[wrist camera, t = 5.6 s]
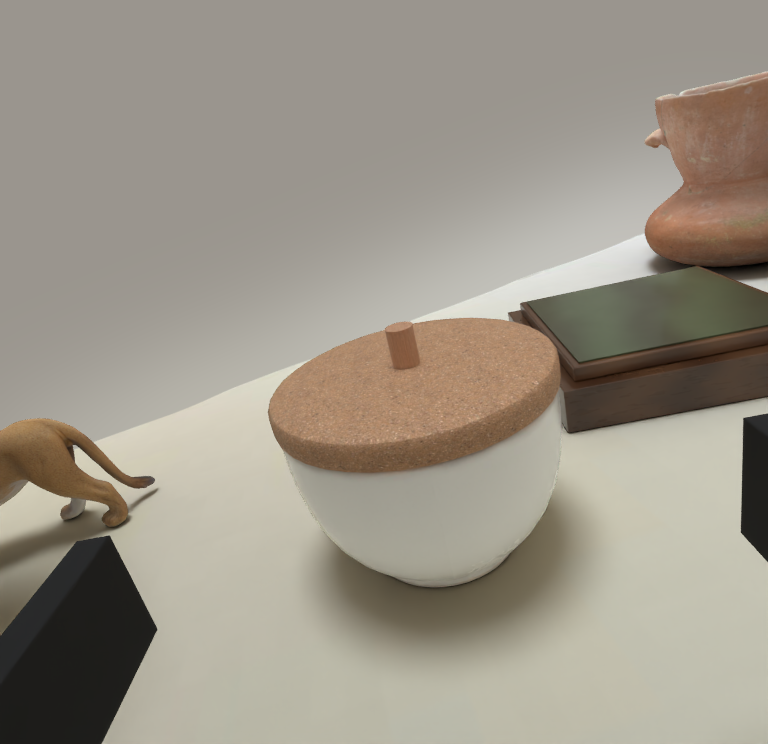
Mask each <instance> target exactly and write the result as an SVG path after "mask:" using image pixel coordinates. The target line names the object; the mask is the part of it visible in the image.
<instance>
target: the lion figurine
mask: <svg viewBox="0 0 768 744" xmlns="http://www.w3.org/2000/svg"><path fill="white" fill-rule="evenodd" d="M72 445H77V446H78V447H79V448H80V449H81V450H83V451H84V452H85V453H86V454H87V455H88V456H89V457H90V458H91V459H92V460H94V461H95V462H96V463H97V464H99V465H100V466H101V467H102V468H103V469H104V470H105V471H106V472H107V473H108V474H110V475H111V476H112V477H113V478H115V479H116V480H118V481H119V482H121V483H123V484H125V485H127V486H129V487H133V488H146V487H147V486H149V485H151V484H153V483H154V481H155V479H154V478H153V477H151V476H142V477H130V476H128V475H126V474H124V473H122V472H121V471H120V470H119V469H118V468H117V467H116V466H115V465H114V464H113V463H112V462H111V461H110V460H109V459H108V457H107V456H106V455H105V454H104V453H103V452H102V451H101V450H100V449H99V448H98V447H97V446H96V445H95V444H94V443H93V442H92V441H91V440H90V439H89V438H88V437H86V436H85V435H84V434H82V433H81V432H79V431H78V430H77V429H75V428H73V427H72V426H70V425H67V424H65V423H62V422H59V421H55V420H51V419H39V418H38V419H29V420H28V419H27V420H22V421H19V422H16V423H13V424H11V425H9V426H8V427H6V428H5V429H3V430H1V431H0V506H1V505H2V504H4V503H5V502H7V501H8V500H10V499H11V498H12V497H14V496H15V495H16V494H17V493H18V492H19V491H20V490H21V489H22V488H23V487H24V486H25V485H26V484H27V482H28V481H30V482H32V483H34V484H35V485H37V486H39V487H40V488H42V489H45V490H47V491H49V492H52V493H54V494H57V495H60V496H63V497H69V498H71V503H70V504H68V505H66V506H64V507H63V508H62V509H61V513H60V516H61V518H62V519H70V518H73V517H76V516H77V515H79V514H80V513H81V512H82V511H83V510H84V508H85V505H86V500H90V501H96V502H100V503H103V504H106V505H108V506H109V509H110V510H109V511H107V512H106V513H105V514H104V515H103V517H102V522H103V523H104V524H106V525H107V526H109V527H113V526H117V525H119V524H120V523H122V522H123V521H125V519H126V518H127V515H128V509H127V504H126V502H125V501H124V499H123V498H122V497H121V495H120V494H119V493H118V492H117V491H116V489H115V488H114V487H113V486H112V484H110V483H109V482H106V481H102V480H97V479H95V478H93V477H91V476H89V475H88V474H86V473H85V472H83V471H82V470H81V469H80V468H78V466H77V465H76V464H75V457H74V450H73V446H72Z"/></svg>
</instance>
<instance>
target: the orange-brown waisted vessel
mask: <svg viewBox="0 0 768 744" xmlns="http://www.w3.org/2000/svg"><path fill="white" fill-rule="evenodd" d="M655 106H656V115H657V119H658V123H659V126H660V129H658V130H655V131H654V132H653V133H651V134H650V135H649V136H648V137H647V139H646V140H645V144H646V145H648V146H651V147H653V148H657V147H658V146H659V145H661V144H662V145H664V146H666V147H667V148H669V149H670V151H671V154H672V157H673V160H674V162H675V165H676V167H677V168H678V170H679V171H680V174H681V176H682V177H683V180H684V184H683V186H682V187H681V188H680V189H679V190H678V191H677V192H675V193H674V194H673V195H672V196H671V197H670V198H669V199H667V200H666V201H665V202H664V203H663V204H662V205H660V206H659V207H658V208H657V209H656V210H655V211H654V212H653V213H652V214H651V215H650V217H649V219H648V221H647V223H646V227H645V236H646V239H647V242H648V244H649V246H650V247H651V248H652V249H653V250H654V251H655V252H656V253H657V254H659V255H660V256H662V257H664V258H666V259H669V260H672V261H675V262H679V263H683V264H689V265H696V266H710V267H725V266H740V265H750V264H757V263H764V262H768V71H766V72H763V73H759V74H755V75H750V76H745V77H742V78H738V79H735V80H730V81H725V82H719V83H715V84H711V85H707V86H701V87H697V88H694V89H688V90H685V91H682V92H681V93H680V94H679V96H677V95H674V94H669V95H665V96H661V97H658V98H656V101H655Z"/></svg>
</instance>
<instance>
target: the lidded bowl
mask: <svg viewBox="0 0 768 744" xmlns="http://www.w3.org/2000/svg"><path fill="white" fill-rule="evenodd" d="M560 379H561V373H560V363H559V356H558V352H557V348H556V347H555V346H554V344H553V343H552V342H551V340H550V339H549V338H548V337H547V336H545V335H544V334H542V333H541V332H540V331H538V330H536V329H533V328H531V327H529V326H526V325H523V324H519V323H516V322H510V321H505V320H498V319H485V318H457V319H443V320H433V321H426V322H420V323H414V324H412V323H411V322H399V323H395V324H392V325H390V326H388V327H386V328H385V330H383V331H380V332H376V333H373V334H370V335H366V336H363V337H360V338H358V339H355V340H352V341H350V342H347V343H345V344H342V345H340V346H338V347H335V348H333V349H331V350H329V351H327V352H325V353H323V354H321V355H319V356H317V357H316V358H314V359H312V360H310V361H309V362H307V363H305V364H304V365H302V366H301V367H300V368H298V369H297V370H295V371H294V372H293V373H292V374H291V375H289V376H288V377H287V378H286V379H285V380H284V381H283V382H282V383H281V384H280V386H279V387H278V388H277V389H276V391H275V393H274V394H273V396H272V398H271V400H270V404H269V409H268V415H269V420H270V424H271V427H272V430H273V433H274V436H275V438H276V440H277V442H278V443H279V445H280V446H281V448H282V449H283V451H284V454H285V457H286V460H287V463H288V466H289V469H290V471H291V474H292V476H293V479H294V481H295V484H296V486H297V488H298V490H299V492H300V494H301V496H302V498H303V500H304V502H305V504H306V505H307V507H308V509H309V510H310V512H311V514H312V515H313V517H314V518H315V520H316V521H317V523H318V524H319V526H320V527H321V529H322V530H323V532H324V533H325V534H326V535H327V536H328V537H329V538H330V539H331V540H332V541H333V542H334V543H335V544H336V545H337V546H338V547H339V548H340V549H341V550H342V551H343V552H344V553H346V554H347V555H349V556H351V557H352V558H354V559H355V560H357V561H358V562H360V563H362V564H363V565H365V566H366V567H368V568H371V569H373V570H375V571H378V572H380V573H383V574H386V575H389V576H393V577H395V578H396V579H398V580H401V581H403V582H405V583H408V584H412V585H416V586H423V587H447V586H454V585H459V584H462V583H466V582H469V581H472V580H474V579H477V578H480V577H481V576H483V575H485V574H487V573H489V572H491V571H492V570H493V569H495V568H496V567H497V566H499V565H500V564H501V563H502V562H503V561H504V560H505V559H506V558H507V557H508V555H509V554H510V552H512V551H513V550H514V549H515V548H516V547H517V546H518V545H520V544H521V543H522V542H523V541H524V540H525V538H526V537H527V536H528V535H529V534H530V533H531V532H532V530H533V529H534V527H535V526H536V524H537V523H538V521H539V520H540V518H541V517H542V515H543V514H544V512H545V510H546V508H547V505H548V503H549V500H550V498H551V495H552V493H553V490H554V487H555V485H556V480H557V474H558V468H559V462H560V454H561V438H562V421H561V405H560V397H559V385H560Z"/></svg>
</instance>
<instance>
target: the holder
mask: <svg viewBox="0 0 768 744" xmlns="http://www.w3.org/2000/svg"><path fill="white" fill-rule="evenodd" d="M520 307H521V310H519V311H514V312H509V313H508V317H509V321H510V322H516V323H519V324H523V325H526V326H529V327H531V328H533V329H536V330H538V331H540V332H541V333H542V334H544V335H545V336H547V337H548V338H549V339H550V340H551V342H552V343H553V344H554V346H555V347H556V348H557V352H558V356H559V363H560V373H561V379H560V385H559V397H560V405H561V421H562V423H563V425H564V427H565V428H566V430H567V432H568V433H571V432H576V431H582V430H587V429H592V428H598V427H603V426H609V425H614V424H619V423H625V422H630V421H635V420H641V419H646V418H652V417H657V416H662V415H668V414H673V413H679V412H684V411H689V410H695V409H700V408H706V407H711V406H716V405H722V404H727V403H732V402H738V401H743V400H749V399H754V398H759V397H765V396H768V293H767V292H764V291H761V290H759V289H756V288H754V287H751V286H749V285H746V284H743V283H741V282H738V281H736V280H733V279H731V278H728V277H725V276H723V275H720V274H718V273H715V272H713V271H710V270H708V269H705V268H702V267H700V266H695V267H690V268H685V269H681V270H676V271H671V272H666V273H662V274H657V275H652V276H647V277H642V278H638V279H633V280H628V281H623V282H619V283H614V284H609V285H604V286H599V287H595V288H590V289H585V290H580V291H576V292H571V293H566V294H561V295H557V296H552V297H547V298H542V299H537V300H533V301H528V302H523V303H520Z"/></svg>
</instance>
